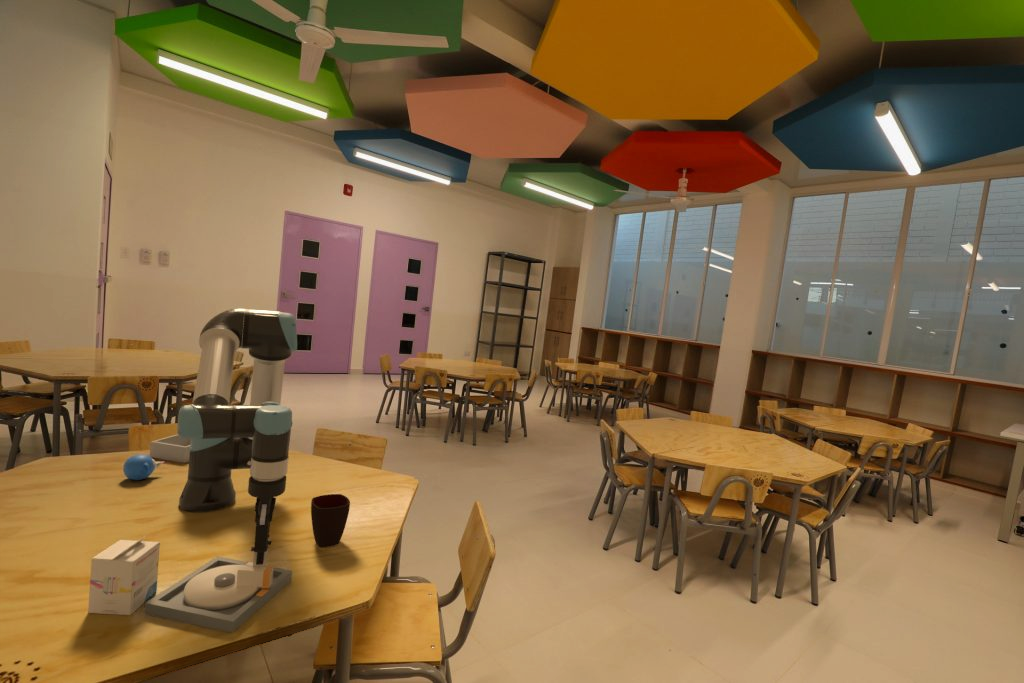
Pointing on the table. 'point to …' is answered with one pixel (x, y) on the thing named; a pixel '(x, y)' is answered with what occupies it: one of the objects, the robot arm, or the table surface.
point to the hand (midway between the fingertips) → (258, 575)
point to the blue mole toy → (140, 466)
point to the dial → (226, 586)
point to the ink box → (123, 577)
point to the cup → (329, 518)
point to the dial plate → (226, 619)
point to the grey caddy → (171, 449)
